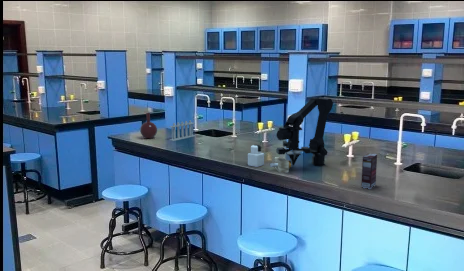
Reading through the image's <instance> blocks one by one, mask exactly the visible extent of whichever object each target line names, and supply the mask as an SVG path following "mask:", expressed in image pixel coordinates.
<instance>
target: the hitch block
mask: <svg viewBox="0 0 464 271" xmlns="http://www.w3.org/2000/svg"><path fill="white" fill-rule="evenodd" d="M288 161H289V160H287V159H286V158H285V157H284V156H279V157H278V156H277V157H276V156H275V157H274V163H278V167H274V168H275V170H276V171H277V172H278V173H280V174H283V173H284V174H285V173H286V174H287V173H289V170H290V168H289V162H288Z"/></svg>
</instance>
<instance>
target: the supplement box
mask: <svg viewBox="0 0 464 271" xmlns="http://www.w3.org/2000/svg"><path fill="white" fill-rule="evenodd" d="M377 163H378V154H377V153H370V152H368V153H367V154H364V155H363V156H362V164H361V165H362V166H361V182H360V183H361V185H360V188H361V187H363V188H362V189H365V188H368V189H367V190H371V189H373V188H374V187H375V186H377V185H376V184H377V168H378V167H377V166H378V165H377ZM374 185H375V186H374ZM373 186H374V187H373ZM372 187H373V188H372Z"/></svg>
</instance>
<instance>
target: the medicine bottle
mask: <svg viewBox="0 0 464 271" xmlns="http://www.w3.org/2000/svg"><path fill="white" fill-rule="evenodd" d="M247 165H248V166H250V167H256V168H259V167H261V166H264V165H265V153H264V152H262V146H261V145H260V144H252V145H251V146H250V152H248V153H247Z"/></svg>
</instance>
